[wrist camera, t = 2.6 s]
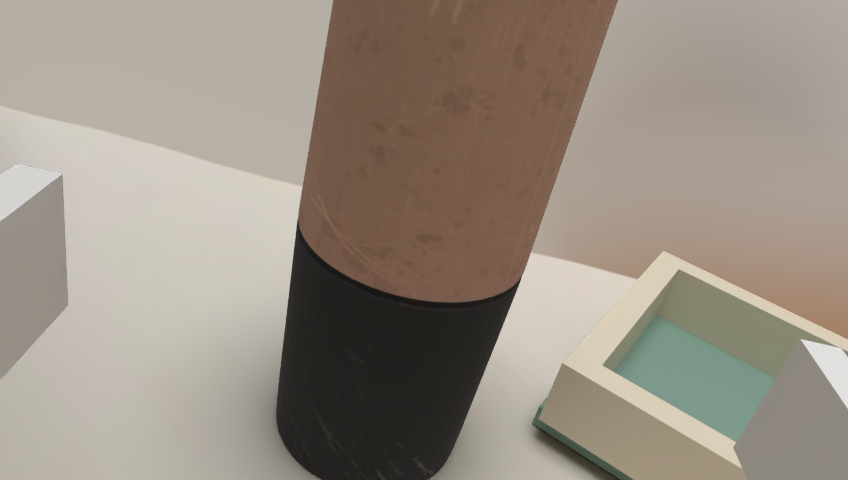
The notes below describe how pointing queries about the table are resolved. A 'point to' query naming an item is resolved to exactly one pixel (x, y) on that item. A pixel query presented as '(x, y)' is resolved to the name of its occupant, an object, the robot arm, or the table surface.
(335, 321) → the travel mug
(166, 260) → the table surface
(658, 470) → the rectangular tray
